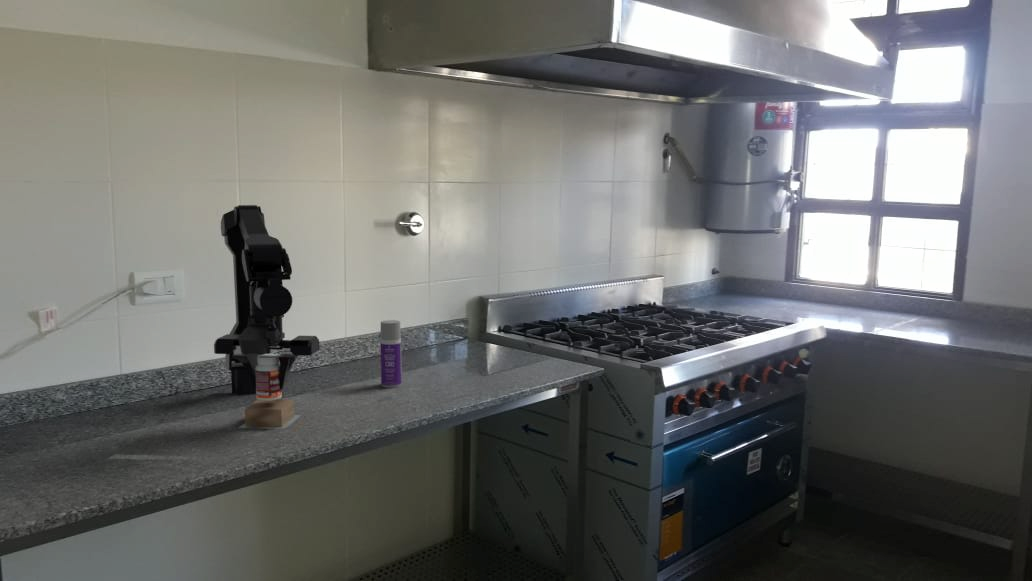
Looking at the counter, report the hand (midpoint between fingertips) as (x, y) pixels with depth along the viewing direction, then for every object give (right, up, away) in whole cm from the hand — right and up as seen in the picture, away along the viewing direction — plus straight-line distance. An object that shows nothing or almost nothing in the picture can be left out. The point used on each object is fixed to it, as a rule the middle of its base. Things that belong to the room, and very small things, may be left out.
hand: (269, 388), depth 153 cm
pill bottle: (0, -2, 0) cm, 2 cm away
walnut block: (0, -6, +1) cm, 7 cm away
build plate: (+3, -7, +2) cm, 8 cm away
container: (+19, -3, +32) cm, 37 cm away
